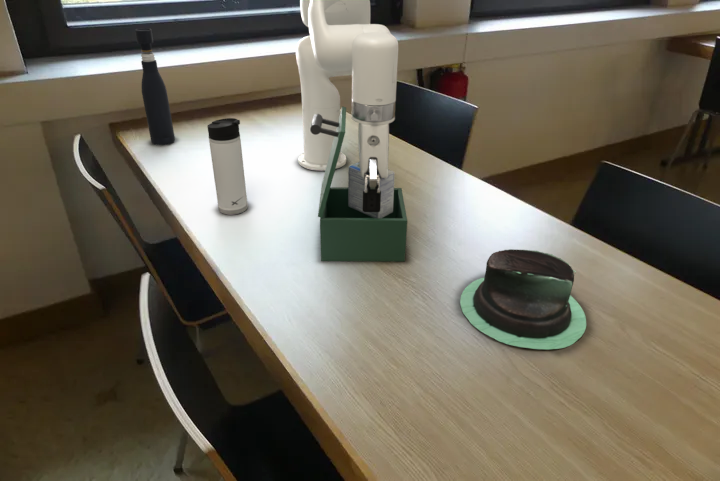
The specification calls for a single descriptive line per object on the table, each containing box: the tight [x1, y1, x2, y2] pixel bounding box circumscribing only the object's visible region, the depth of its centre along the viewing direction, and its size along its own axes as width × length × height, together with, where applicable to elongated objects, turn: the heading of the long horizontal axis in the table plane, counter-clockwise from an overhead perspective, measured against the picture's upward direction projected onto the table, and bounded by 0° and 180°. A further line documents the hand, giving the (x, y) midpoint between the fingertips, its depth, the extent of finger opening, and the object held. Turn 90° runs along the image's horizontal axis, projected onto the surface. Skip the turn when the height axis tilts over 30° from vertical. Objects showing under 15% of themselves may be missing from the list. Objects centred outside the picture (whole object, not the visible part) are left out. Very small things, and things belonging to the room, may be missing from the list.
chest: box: [319, 186, 408, 263], centre depth 103 cm, size 16×14×9 cm
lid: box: [310, 106, 347, 218], centre depth 96 cm, size 16×14×6 cm
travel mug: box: [206, 117, 249, 216], centre depth 112 cm, size 6×7×20 cm
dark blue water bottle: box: [134, 27, 176, 146], centre depth 144 cm, size 6×6×30 cm
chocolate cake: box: [459, 248, 587, 350], centre depth 86 cm, size 15×19×20 cm
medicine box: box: [347, 161, 395, 218], centre depth 100 cm, size 8×4×9 cm, turn 47°
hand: (370, 199), depth 101 cm, fingers closed on medicine box, 8 cm apart
